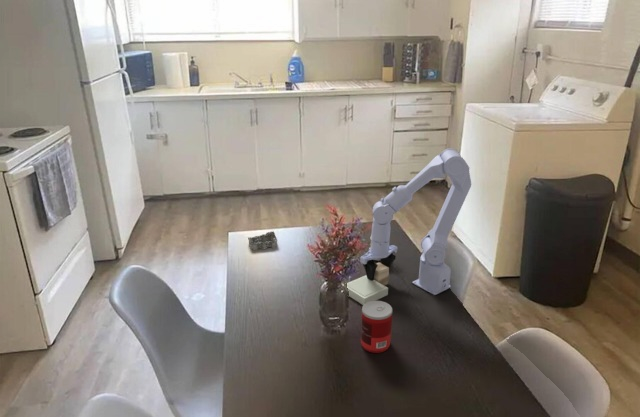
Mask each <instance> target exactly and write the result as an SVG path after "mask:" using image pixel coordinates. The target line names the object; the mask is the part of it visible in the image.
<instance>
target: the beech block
mask: <svg viewBox="0 0 640 417" xmlns="http://www.w3.org/2000/svg"><path fill="white" fill-rule="evenodd" d="M375 263H376V264H377V265H378V266H377V268H376V270H375V275H374V280H375V281H377V282H379V283H381V284H382V285H384V286H387V285H389V276H390V274H389V272H390V269H389V267H387V266H385V265H383V264H381V261H380V262H379V261H378V262H375Z"/></svg>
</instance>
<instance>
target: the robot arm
mask: <svg viewBox="0 0 640 417" xmlns="http://www.w3.org/2000/svg"><path fill="white" fill-rule="evenodd" d="M445 175H447V176H448V177H449V180H450V181H451V183H452V184H451V186H450V189H449V190H448V193H447V195H446V197H445V200H444V202H443V204H442V207H441V209H440V211H439V213H438V215H437V218H436V220H435V223H434V225H433V227H432V228H431V229H430V230H428V233H427V234H426V236H424V237H423V238H422V239H421V241H420V247H421V249H422V254H421V256H420V257H419V259H420V260H419V270H418V271H419V272H418V278H417V279H416V280H413V281H412V285H415V286H416V287H418V288H420V289H422V290H424V291H425V292H428V293H430V294H432V295H433V296H436V295H438V294H440V293H443V292H444V291H447V290H448V289H450V288H451V274H452V270H451V267H450V266H449V265H447V264H446V263H445V260H446V250H447V247H448V240H449V236H450V233H451V231H452V229H453V226H454V224H455V222H456V220H457V218H458V215H459V213H460V212H461V209H462V206H463V204H464V203H465V201H466V198H467V196H468V194H469V192H470V189H471V187H472V180H471V174H470V166H469V165H468V163H467V161H466V160H465V158H463V157H462V155H461V154H460V152H459V151H457V149H454V148H446V149H444V150H442V152H440V154H438V155H437V154H436V156H435V157H434V158H433V159H431V161H430V162H429V163H428V164H427V165H426V166H424V167H423V168H422V170H420V171H419V172H418V173H417V174H416V175H415V176H414V177H413V178H411V180H410V181H409V182H408V183H406V184H405V185H404V184H401V185H400V184H399V185H398V186H394V187H392V189H391V190H392V191H391V192H390V193H388V194H387V195H386V196H385V197H381V198H380V200H378V201H377V202H375V203H374V204H373V207H371V208H372V209H371V210H372V215H373V218H372V225H371V235H370V237H371V247H370V246H369V248H368V251H367V252H366V253H365V254H363V255H362V256H360V260H359V261H360V263H361V264H362V266H363V268H364V270H365V275H367V278H368V279H369V280H371V281H373V280H374V275H375V270H376V268H377V266H378V265H377V264H376V263H377V262H375V260H374V259H380V260H379V261H380V263H381V264H383V265H385V266H387V267H389V270H390V269H391V266H392V264H393V263H394V261H395V260H396V255H395V254H396V253H397V252H398V246H397V245H394V244H392V245H390V238H391V237H390V236H391V228H392V227H391V222H392V220H393V218H394V215H396V214H397V213H398V212H399V211H400V210H402V209H403V208H404V207H405V206H406V205H407V204H409V203H410V202H411V201H412V200H413V194H414V193H416V192H417V191H418V190H420V189H421V188H422V187H424V186H425V185H426V184H428V183H430V181H432V180H433V179H436V178H437V179H445V178H446V176H445ZM394 253H395V254H394Z"/></svg>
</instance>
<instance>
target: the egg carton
mask: <svg viewBox="0 0 640 417" xmlns="http://www.w3.org/2000/svg"><path fill="white" fill-rule="evenodd" d="M247 238H248V246H249V249H250V250H254V251H257V250H258V249H263V250H265V249H267V248H272V249H274V248H276V247H278V238H277V237H276V233H275V232H274V231H268V232H266V233H265V234H261V235H255V236H253V237H251V236H250V237H247Z"/></svg>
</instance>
